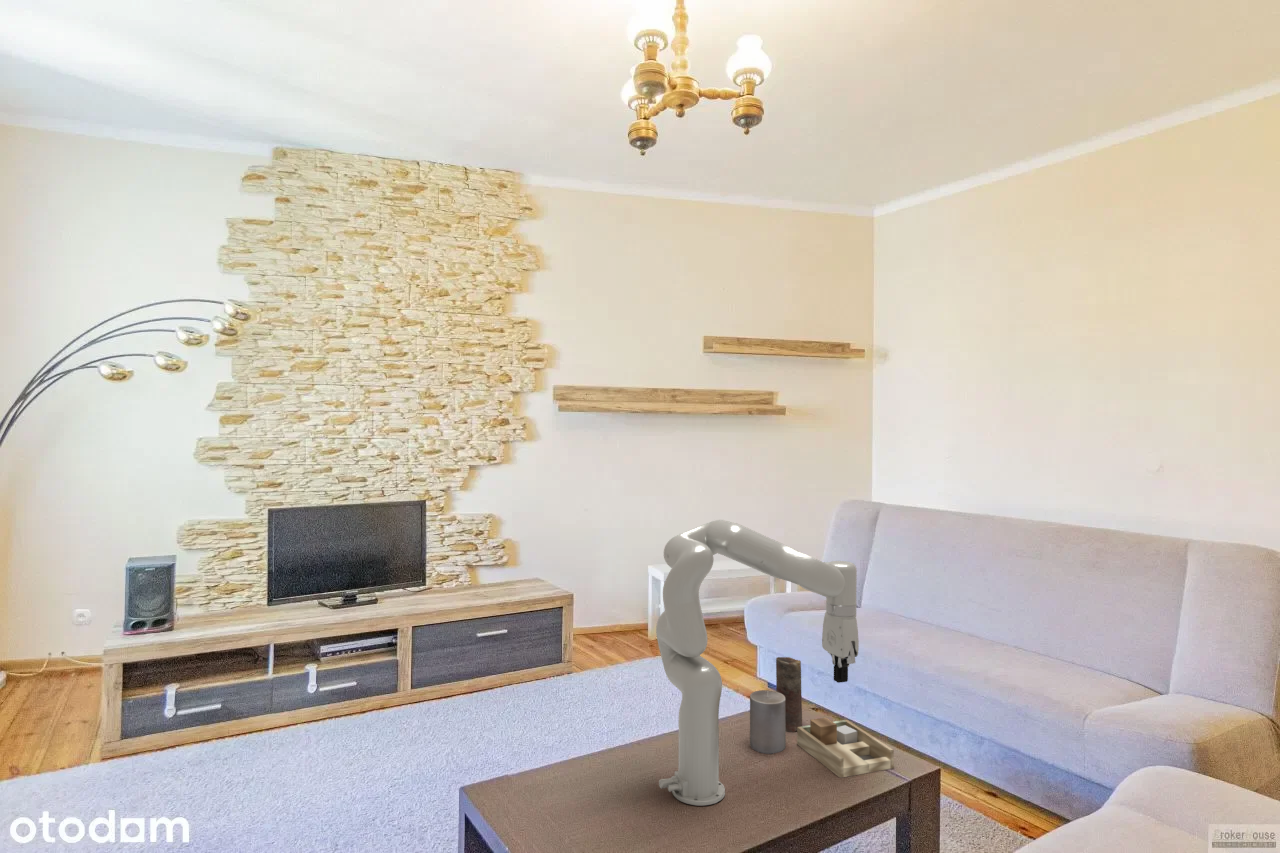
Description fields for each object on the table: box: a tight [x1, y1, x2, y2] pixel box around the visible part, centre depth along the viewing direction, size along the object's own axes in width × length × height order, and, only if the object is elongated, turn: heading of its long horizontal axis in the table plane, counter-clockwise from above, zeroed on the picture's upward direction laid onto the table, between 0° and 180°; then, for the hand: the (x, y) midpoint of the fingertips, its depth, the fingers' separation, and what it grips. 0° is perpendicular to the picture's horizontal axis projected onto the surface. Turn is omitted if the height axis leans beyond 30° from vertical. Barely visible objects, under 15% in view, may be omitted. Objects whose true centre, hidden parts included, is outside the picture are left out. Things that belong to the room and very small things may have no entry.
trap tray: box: [796, 719, 895, 779], centre depth 188 cm, size 16×20×5 cm
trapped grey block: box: [837, 725, 857, 745], centre depth 194 cm, size 4×4×4 cm
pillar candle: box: [749, 689, 787, 755], centre depth 194 cm, size 10×10×15 cm
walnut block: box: [809, 717, 837, 745], centre depth 192 cm, size 5×5×5 cm
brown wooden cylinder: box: [775, 656, 803, 733], centre depth 207 cm, size 8×7×20 cm
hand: (840, 681), depth 183 cm, fingers closed
